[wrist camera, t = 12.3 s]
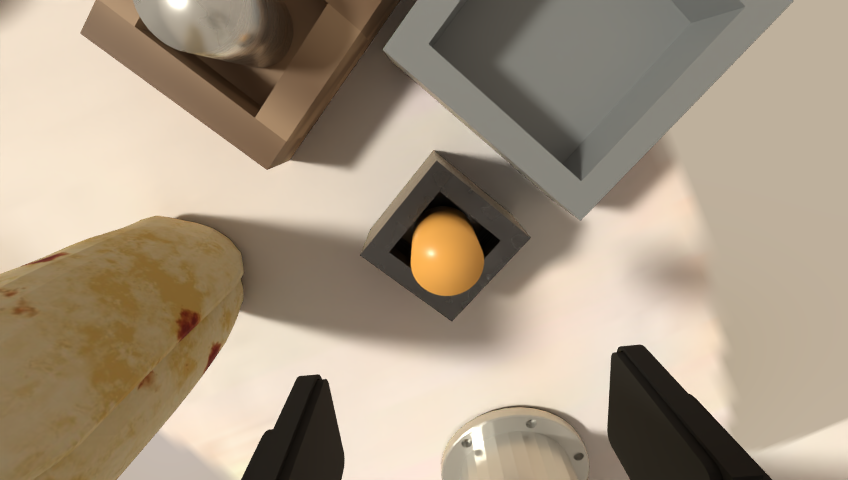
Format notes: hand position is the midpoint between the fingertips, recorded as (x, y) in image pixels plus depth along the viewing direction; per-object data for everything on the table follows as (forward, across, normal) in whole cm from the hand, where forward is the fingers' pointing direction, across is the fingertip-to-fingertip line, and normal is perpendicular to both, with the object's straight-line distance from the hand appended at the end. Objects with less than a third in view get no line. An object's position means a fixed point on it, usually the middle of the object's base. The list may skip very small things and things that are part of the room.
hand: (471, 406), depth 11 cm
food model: (+18, +17, +1) cm, 25 cm away
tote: (+18, -8, -11) cm, 22 cm away
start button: (+15, 0, 0) cm, 15 cm away
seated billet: (+17, +10, -13) cm, 23 cm away
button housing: (+18, 0, 0) cm, 18 cm away
